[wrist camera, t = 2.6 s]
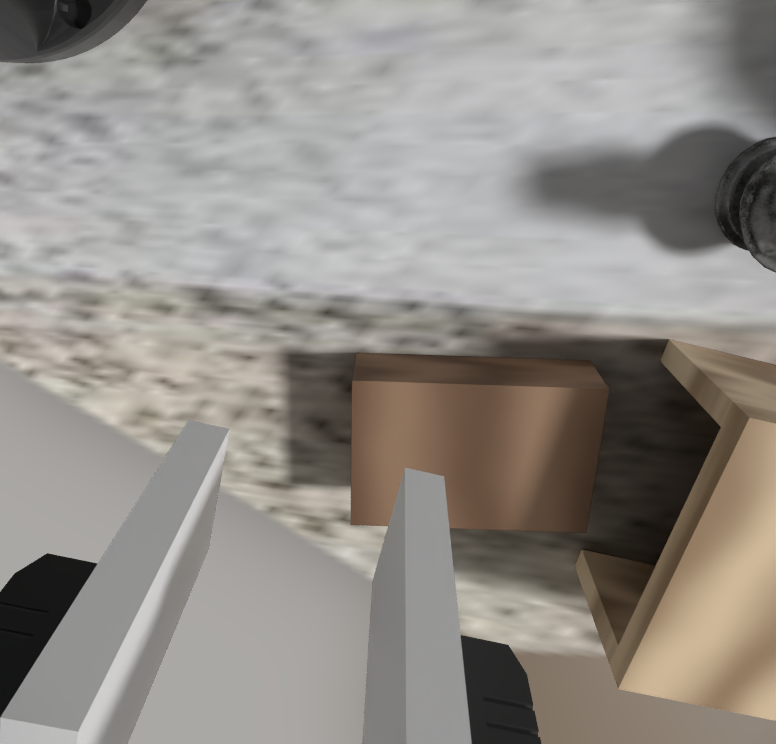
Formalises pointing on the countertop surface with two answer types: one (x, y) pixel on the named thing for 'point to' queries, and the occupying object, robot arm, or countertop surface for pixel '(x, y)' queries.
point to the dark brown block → (478, 437)
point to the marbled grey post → (751, 202)
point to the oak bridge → (704, 558)
